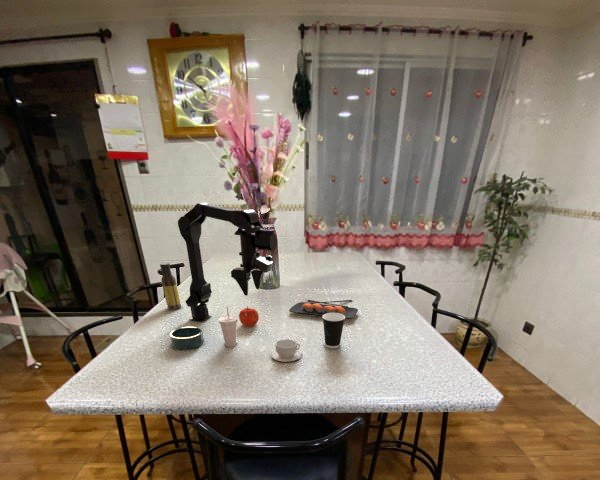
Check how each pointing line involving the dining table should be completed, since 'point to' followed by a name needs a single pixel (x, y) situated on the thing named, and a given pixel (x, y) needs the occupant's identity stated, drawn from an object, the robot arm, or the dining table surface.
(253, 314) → the apple
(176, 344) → the bowl
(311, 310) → the sushi plate
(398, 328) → the dining table surface
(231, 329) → the smoothie
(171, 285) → the sauce bottle
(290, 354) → the teacup
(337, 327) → the dixie cup
